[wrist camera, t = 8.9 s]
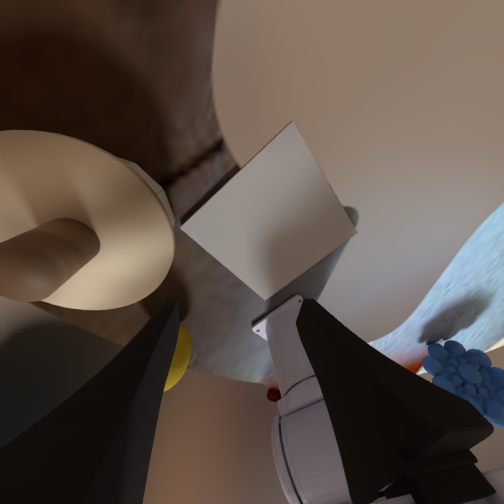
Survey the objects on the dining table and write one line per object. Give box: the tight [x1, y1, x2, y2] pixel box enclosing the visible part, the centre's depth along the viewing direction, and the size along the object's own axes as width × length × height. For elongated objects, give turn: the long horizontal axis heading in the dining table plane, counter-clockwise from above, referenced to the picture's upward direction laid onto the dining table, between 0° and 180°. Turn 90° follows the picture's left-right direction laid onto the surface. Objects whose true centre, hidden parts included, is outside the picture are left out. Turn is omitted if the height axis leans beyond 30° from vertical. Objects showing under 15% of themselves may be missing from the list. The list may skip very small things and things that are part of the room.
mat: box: [180, 121, 357, 300], centre depth 20 cm, size 13×13×1 cm
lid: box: [0, 130, 175, 310], centre depth 11 cm, size 12×12×5 cm
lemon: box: [163, 323, 191, 392], centre depth 20 cm, size 6×6×8 cm
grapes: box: [422, 340, 504, 428], centre depth 31 cm, size 12×7×12 cm, turn 101°
